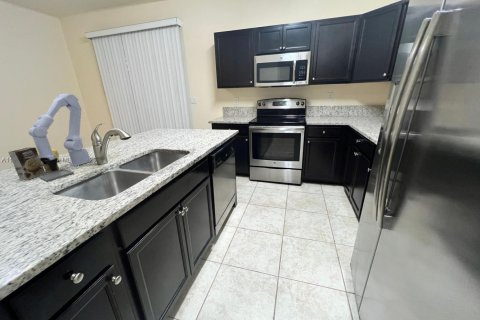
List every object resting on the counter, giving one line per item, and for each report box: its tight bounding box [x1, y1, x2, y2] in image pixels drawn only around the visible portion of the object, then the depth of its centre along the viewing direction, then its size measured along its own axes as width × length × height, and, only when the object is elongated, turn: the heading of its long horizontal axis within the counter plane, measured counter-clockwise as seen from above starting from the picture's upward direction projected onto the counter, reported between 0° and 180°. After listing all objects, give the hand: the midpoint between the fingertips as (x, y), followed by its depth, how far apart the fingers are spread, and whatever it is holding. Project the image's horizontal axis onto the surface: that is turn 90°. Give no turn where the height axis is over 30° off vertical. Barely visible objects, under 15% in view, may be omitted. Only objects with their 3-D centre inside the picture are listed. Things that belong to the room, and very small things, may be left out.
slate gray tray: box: [38, 168, 75, 183], centre depth 114 cm, size 12×12×1 cm
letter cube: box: [42, 164, 60, 174], centre depth 120 cm, size 5×5×5 cm
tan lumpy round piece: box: [37, 147, 60, 165], centre depth 136 cm, size 12×12×11 cm
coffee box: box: [8, 147, 47, 181], centre depth 112 cm, size 9×6×16 cm
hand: (52, 169), depth 120 cm, fingers open, 7 cm apart
